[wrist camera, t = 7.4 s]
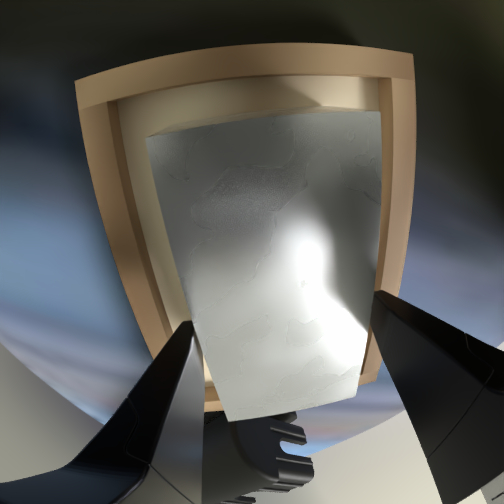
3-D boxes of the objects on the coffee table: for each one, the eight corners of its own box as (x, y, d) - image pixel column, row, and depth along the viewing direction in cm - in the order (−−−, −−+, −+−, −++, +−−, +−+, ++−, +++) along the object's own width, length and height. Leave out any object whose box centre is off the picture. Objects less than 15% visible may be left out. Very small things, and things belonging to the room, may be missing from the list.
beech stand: (373, 60, 10) (412, 54, 8) (358, 345, 18) (375, 380, 15) (106, 84, 10) (74, 81, 7) (182, 373, 17) (180, 413, 15)
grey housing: (327, 331, 14) (355, 396, 10) (223, 349, 14) (228, 421, 10) (322, 105, 9) (380, 111, 6) (172, 124, 9) (145, 138, 6)
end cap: (228, 377, 18) (236, 474, 12) (303, 407, 21) (323, 484, 15) (154, 432, 21) (149, 503, 15) (222, 453, 23) (228, 516, 18)
